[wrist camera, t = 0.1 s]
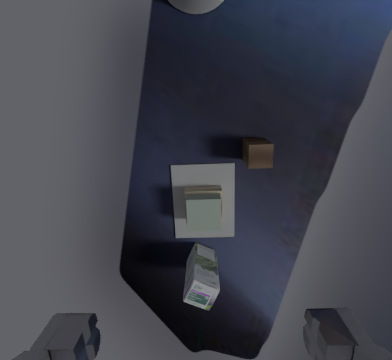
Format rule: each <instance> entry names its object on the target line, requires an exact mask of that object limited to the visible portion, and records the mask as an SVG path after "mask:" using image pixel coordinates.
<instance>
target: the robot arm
mask: <svg viewBox="0 0 392 360" xmlns="http://www.w3.org/2000/svg"><path fill="white" fill-rule="evenodd" d="M168 1H169V2H170V3H171V4H172V5H173V6H174V7H175V8H177V9H178V10H180V11H183V12H185V13H189V14H202V13H206V12H209V11H211V10H213V9H215V8H216V7H218V6H219V5H220V4H221V3H222V2H223V1H224V0H168ZM304 317H305V319H306V322H307V324H305V325H304V327H303V336H304V343H305V346H306V349H307V352H308V354H309V356H311V357H312V358H313V359H314V360H392V353H390V352H389V351H387V350H386V349H384V348H383V347H381V346H375V344H374V343H373V342H372V340H371V339H370V337H369V336H368V334H367V333H366V332H365V330H364V329H363V327H362V326H361V325H360V323H359V322H358V320H357V319H356V317H355V316H354V315H353V314H352V312H351V310H350V309H348V308H320V309H319V308H318V309H306V311H305V316H304ZM97 321H98V320H97V316H96V314H94V313H57V314H55V315H54V316H53V317H52V319H51V320H50V321H49V323H48V324H47V326H46V327H45V328H44V330H43V331H42V333H41V334H40V336H39V337H38V338H37V340H36V341H35V343H34V344H33V346H32V347H31V348H30V350H29V351H24V352H23V353H21V354H20V355H18V356H17V357H15V358H14V359H12V360H94V359H95V358H96V356H97V353H98V351H99V346H100V330H99V329H98V328H97V327H96V323H97Z"/></svg>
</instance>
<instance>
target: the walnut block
mask: <svg viewBox="0 0 392 360" xmlns="http://www.w3.org/2000/svg"><path fill="white" fill-rule="evenodd" d="M273 147H274V144H273V143H271V142H270V141H268V140H266V139H265V138H247V139H243V146H242V160H243V161H244V163H245V164H246V166H247V167H248V169H250V168H272V167H273Z"/></svg>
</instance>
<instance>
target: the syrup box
mask: <svg viewBox="0 0 392 360" xmlns="http://www.w3.org/2000/svg"><path fill="white" fill-rule="evenodd" d="M219 291H220V286H219V277H218V266H217V257H216V250H214V249H211V248H209V247H206V246H204V245H201V244H199V243H195V244H194V246H193V248H192V250H191V252H190V255H189V257H188V259H187V267H186V278H185V287H184V297H183V301H184V302H186V303H189V304H192V305H194V306H197V307H200V308H202V309H205V310H208V311H209V310H210V308H211V306H212V305H213V303H214V301H215V299H216V297H217V295H218V293H219Z"/></svg>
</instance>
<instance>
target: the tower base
mask: <svg viewBox="0 0 392 360" xmlns="http://www.w3.org/2000/svg"><path fill="white" fill-rule="evenodd" d="M184 193H185V211H186V196H187V194H202V193H220V197H221V225H222V188H221V185H220V186H187V187H185V191H184ZM186 226H187V211H186Z"/></svg>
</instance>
